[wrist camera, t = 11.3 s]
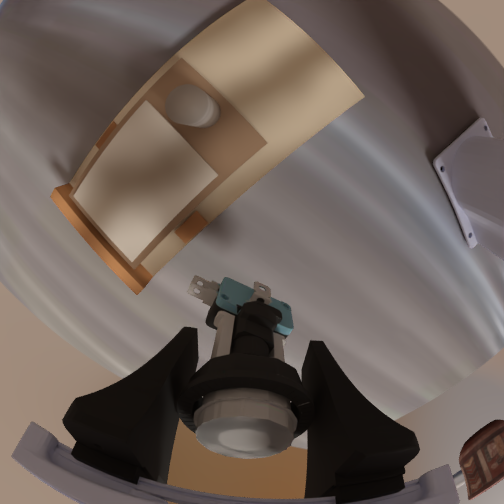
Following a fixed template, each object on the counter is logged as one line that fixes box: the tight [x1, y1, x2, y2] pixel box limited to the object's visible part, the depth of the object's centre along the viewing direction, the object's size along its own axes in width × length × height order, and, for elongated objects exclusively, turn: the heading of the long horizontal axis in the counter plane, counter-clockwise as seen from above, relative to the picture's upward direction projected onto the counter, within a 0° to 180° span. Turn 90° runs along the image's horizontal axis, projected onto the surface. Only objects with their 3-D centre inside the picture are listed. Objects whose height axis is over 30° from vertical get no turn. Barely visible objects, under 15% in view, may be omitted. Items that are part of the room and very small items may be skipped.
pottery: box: [459, 420, 504, 500], centre depth 28 cm, size 18×18×18 cm
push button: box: [177, 276, 315, 459], centre depth 13 cm, size 7×5×10 cm
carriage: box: [69, 58, 267, 270], centre depth 15 cm, size 8×13×6 cm, turn 132°
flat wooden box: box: [50, 0, 365, 295], centre depth 16 cm, size 11×22×3 cm, turn 132°
